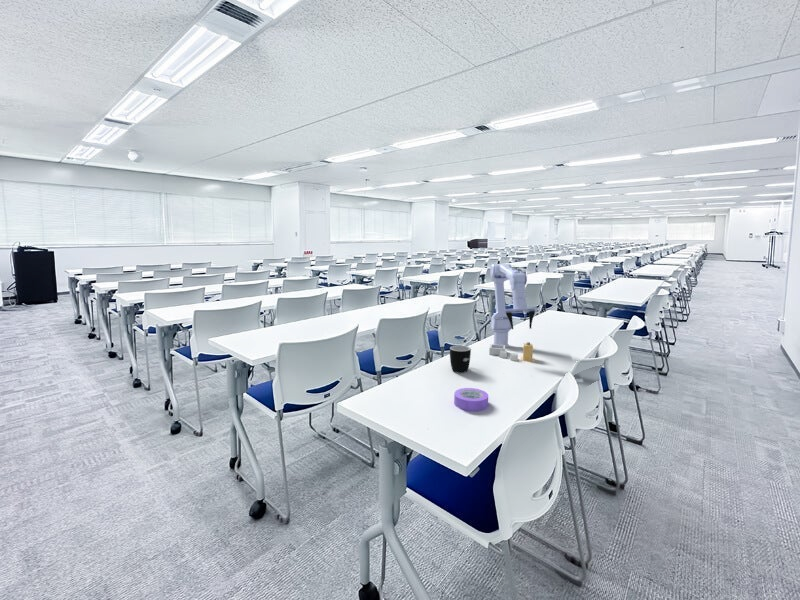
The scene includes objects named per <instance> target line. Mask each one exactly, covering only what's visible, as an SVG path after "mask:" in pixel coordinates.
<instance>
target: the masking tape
mask: <svg viewBox="0 0 800 600" xmlns="http://www.w3.org/2000/svg"><path fill="white" fill-rule="evenodd" d="M453 397H454V400H453V403H454V406H455V407H456V408H458V409H460V410H464V411H468V412H479V411H480V412H481V411H483V410H486V409H487V408H488V406H489V394H488V393H487V392H486V391H484V390H482V389H479V388H472V387H463V388H458V389H456V390H455V391H454V395H453Z"/></svg>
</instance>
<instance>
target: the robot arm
mask: <svg viewBox="0 0 800 600" xmlns="http://www.w3.org/2000/svg"><path fill="white" fill-rule="evenodd" d="M489 272H490V274H489V275H490V280H491V281H492V282H493V285H494V299H495V313H494V314H493V315H492V316H491V321H490V326H491V327H490V328H491V329H492V331H493V343H492V344H496V345H505V348H508V347H509V346H510V345H509V332H510V331H511V330H514V325H513V322H514V321H513V314H522V313H523V314H524V313H528V320H529V329H532V325H533V324H532V323H533V319H534V316H535V314H536V313H538V307H527V294H526V284H527V281H528V279H527V278H528V277H527V274H526V273H525V272H520V271H518V270H517V269H516V268H515V267H512V265H511V264H510V263H492V264H491V265H490V269H489ZM506 281H509V286H510V289H511V290H512V294H511V295H512V305H513V306H512V307H513V308H506V297H505V284H504V283H505V282H506Z"/></svg>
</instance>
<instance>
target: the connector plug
mask: <svg viewBox="0 0 800 600" xmlns="http://www.w3.org/2000/svg"><path fill="white" fill-rule="evenodd" d="M533 350H534V345H533V343H531V342H527V341H526V342H525V343H523V349H522V357H523V360H527V361H526V362H529V361H532V358H533V356H534V355H533V354H534V352H533Z"/></svg>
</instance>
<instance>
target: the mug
mask: <svg viewBox="0 0 800 600" xmlns="http://www.w3.org/2000/svg"><path fill="white" fill-rule="evenodd" d="M471 351H472V349H471V347H470V346H468V345H467V346H466V345H461V344H460V345H458V344H457V345H452V346H450V347H449V358H450V359H449V360H450V362H449V363H450V367H451V370H452V371H453V372H454V373H457V372H458V374H462V373H463V374H464V373H466V372H468V371H469V368H470V362H471V354H472V352H471Z"/></svg>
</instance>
